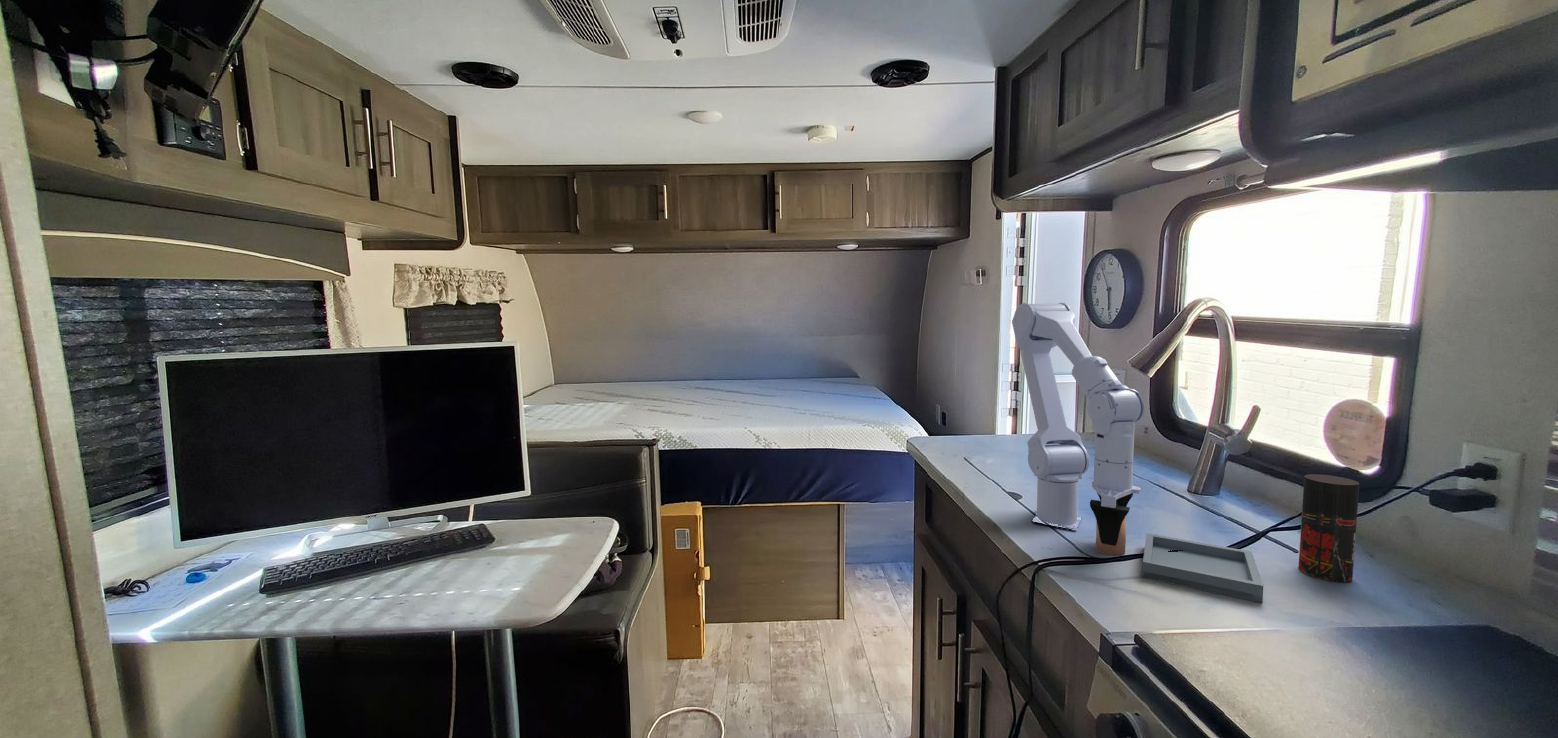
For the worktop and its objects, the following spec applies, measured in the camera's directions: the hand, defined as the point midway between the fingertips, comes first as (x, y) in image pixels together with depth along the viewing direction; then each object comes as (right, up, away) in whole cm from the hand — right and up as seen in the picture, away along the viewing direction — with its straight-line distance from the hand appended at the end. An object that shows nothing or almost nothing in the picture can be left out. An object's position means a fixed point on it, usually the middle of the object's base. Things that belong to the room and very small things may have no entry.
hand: (1110, 536), depth 94 cm
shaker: (0, -2, 0) cm, 2 cm away
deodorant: (+27, -3, -10) cm, 29 cm away
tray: (+9, -3, -8) cm, 12 cm away
